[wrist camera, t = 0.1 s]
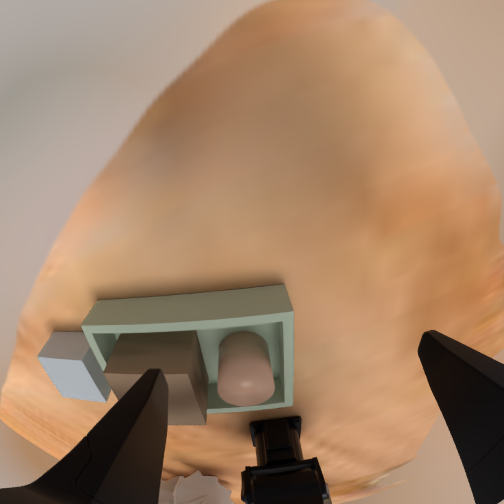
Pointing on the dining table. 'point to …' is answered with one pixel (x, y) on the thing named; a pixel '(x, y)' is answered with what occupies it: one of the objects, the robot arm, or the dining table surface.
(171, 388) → the walnut block
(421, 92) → the dining table surface
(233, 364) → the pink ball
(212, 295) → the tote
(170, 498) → the spiral staircase
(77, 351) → the gray block
